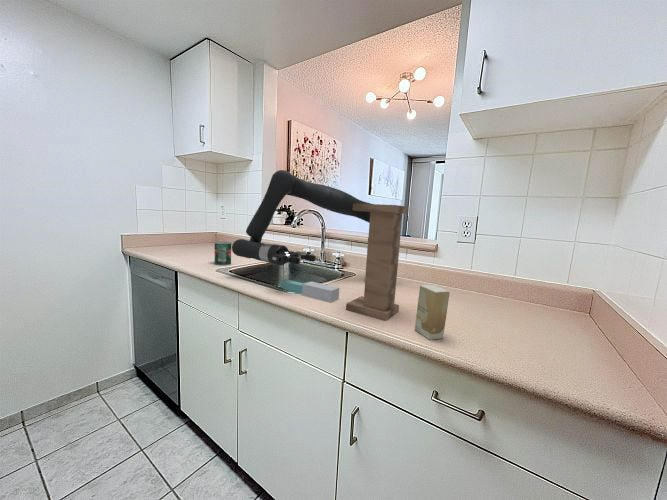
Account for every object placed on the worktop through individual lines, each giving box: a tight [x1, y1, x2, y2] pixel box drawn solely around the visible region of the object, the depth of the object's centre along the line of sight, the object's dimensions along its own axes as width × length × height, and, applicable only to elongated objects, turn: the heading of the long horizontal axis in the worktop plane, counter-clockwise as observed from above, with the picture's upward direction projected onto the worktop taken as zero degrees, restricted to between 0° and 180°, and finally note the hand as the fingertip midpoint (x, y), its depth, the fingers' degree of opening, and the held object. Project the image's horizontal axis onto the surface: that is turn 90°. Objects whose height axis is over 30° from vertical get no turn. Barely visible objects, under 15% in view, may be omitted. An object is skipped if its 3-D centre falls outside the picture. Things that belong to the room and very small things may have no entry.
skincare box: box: [414, 284, 451, 341], centre depth 69 cm, size 6×4×12 cm
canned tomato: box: [214, 241, 232, 266], centre depth 139 cm, size 8×8×11 cm
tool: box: [279, 278, 340, 303], centre depth 98 cm, size 23×5×4 cm, turn 58°
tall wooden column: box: [345, 203, 409, 322], centre depth 83 cm, size 10×13×32 cm
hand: (307, 260), depth 97 cm, fingers open, 8 cm apart
